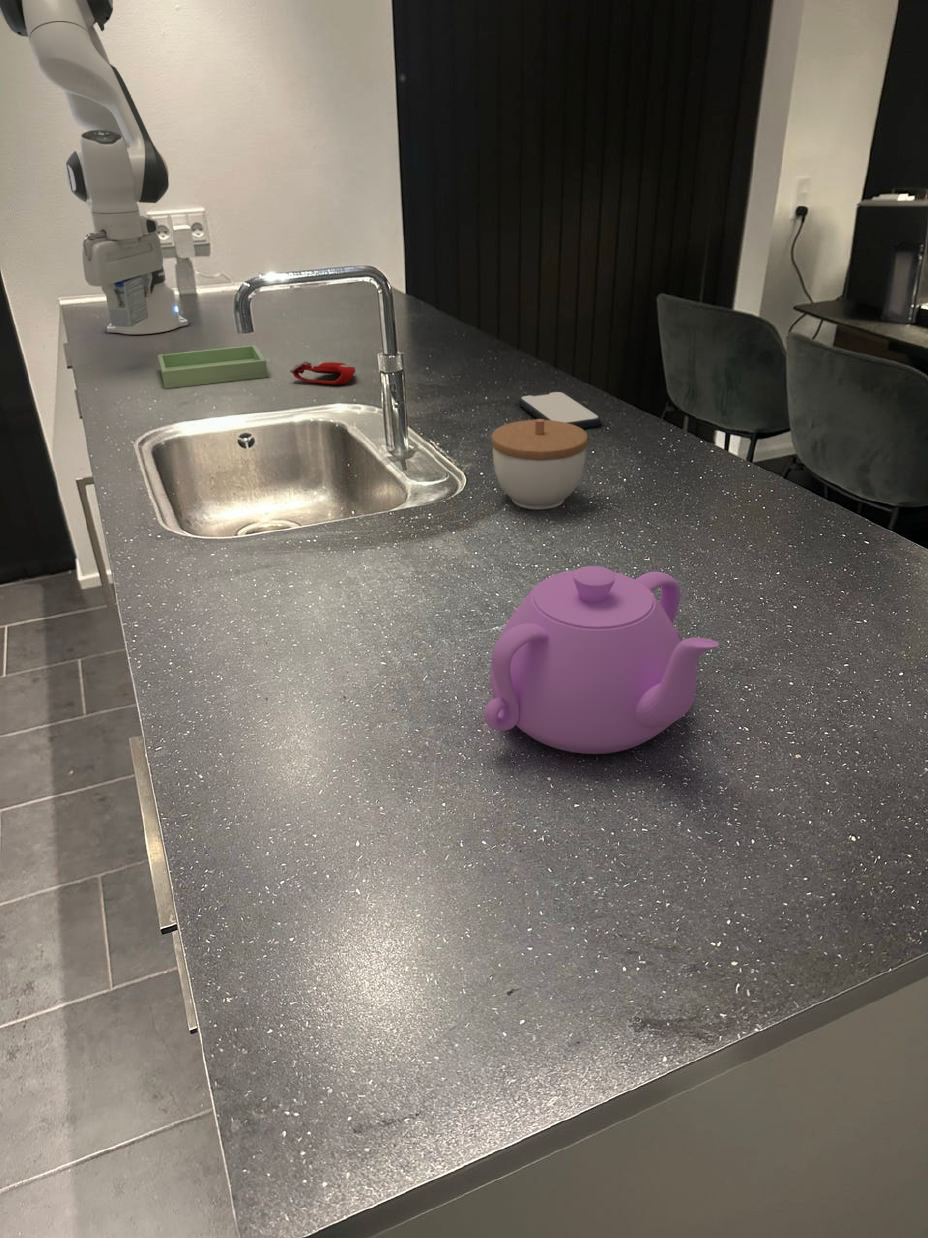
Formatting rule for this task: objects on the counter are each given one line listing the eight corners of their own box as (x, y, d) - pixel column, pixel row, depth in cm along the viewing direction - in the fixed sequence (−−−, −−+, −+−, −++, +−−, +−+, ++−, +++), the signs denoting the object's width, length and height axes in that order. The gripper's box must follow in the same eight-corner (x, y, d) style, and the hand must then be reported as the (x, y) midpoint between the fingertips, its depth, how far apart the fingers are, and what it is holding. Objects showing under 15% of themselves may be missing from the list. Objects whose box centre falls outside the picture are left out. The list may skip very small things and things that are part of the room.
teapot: (597, 848, 66) (608, 694, 59) (431, 708, 81) (424, 573, 74) (786, 736, 77) (815, 594, 70) (608, 631, 92) (617, 507, 85)
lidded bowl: (558, 476, 130) (561, 400, 124) (601, 508, 119) (606, 428, 114) (477, 489, 126) (476, 412, 120) (514, 524, 116) (515, 441, 110)
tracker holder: (340, 364, 181) (367, 361, 173) (340, 387, 182) (367, 385, 174) (285, 360, 174) (310, 357, 166) (286, 384, 174) (311, 381, 167)
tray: (160, 370, 184) (157, 354, 182) (257, 360, 189) (255, 344, 188) (165, 388, 173) (162, 371, 171) (267, 377, 178) (265, 360, 177)
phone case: (603, 427, 149) (561, 399, 162) (604, 418, 148) (561, 390, 161) (554, 434, 146) (516, 405, 159) (554, 425, 145) (516, 396, 158)
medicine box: (128, 316, 186) (121, 272, 182) (149, 318, 186) (142, 273, 181) (110, 326, 180) (102, 280, 175) (132, 327, 179) (124, 281, 175)
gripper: (96, 235, 164) (111, 313, 171) (162, 220, 181) (174, 292, 188) (67, 233, 166) (83, 311, 173) (136, 219, 182) (148, 290, 190)
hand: (131, 301), depth 181 cm, fingers closed on medicine box, 8 cm apart
